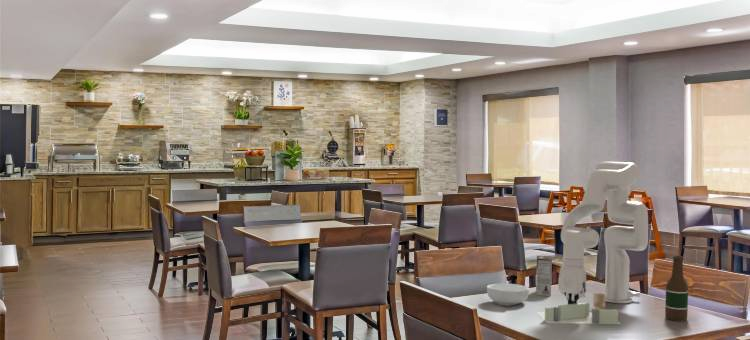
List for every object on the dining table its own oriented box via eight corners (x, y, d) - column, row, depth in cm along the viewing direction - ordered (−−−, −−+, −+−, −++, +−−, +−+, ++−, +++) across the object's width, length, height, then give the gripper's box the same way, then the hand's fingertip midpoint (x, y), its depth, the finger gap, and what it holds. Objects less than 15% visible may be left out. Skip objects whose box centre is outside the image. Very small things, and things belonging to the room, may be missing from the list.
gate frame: (605, 313, 275) (605, 300, 275) (621, 325, 258) (621, 310, 258) (536, 313, 274) (536, 299, 274) (547, 324, 257) (547, 309, 257)
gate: (560, 320, 261) (561, 306, 260) (557, 318, 262) (557, 305, 262) (589, 316, 266) (589, 303, 266) (585, 315, 268) (585, 302, 268)
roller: (602, 313, 272) (603, 293, 272) (606, 316, 268) (607, 295, 268) (591, 313, 272) (591, 293, 272) (595, 316, 268) (595, 295, 268)
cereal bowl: (536, 304, 290) (536, 287, 290) (514, 310, 278) (514, 293, 278) (500, 297, 302) (501, 281, 301) (478, 303, 289) (478, 286, 289)
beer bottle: (686, 317, 271) (688, 255, 270) (688, 322, 264) (690, 258, 263) (664, 315, 274) (666, 254, 273) (665, 320, 266) (667, 257, 265)
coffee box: (535, 291, 315) (536, 255, 315) (550, 291, 314) (551, 256, 313) (536, 295, 306) (537, 258, 306) (551, 296, 305) (552, 259, 304)
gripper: (551, 260, 271) (550, 307, 272) (583, 266, 259) (581, 316, 260) (564, 258, 276) (563, 305, 276) (596, 264, 263) (594, 313, 264)
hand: (572, 310), depth 268 cm, fingers closed
